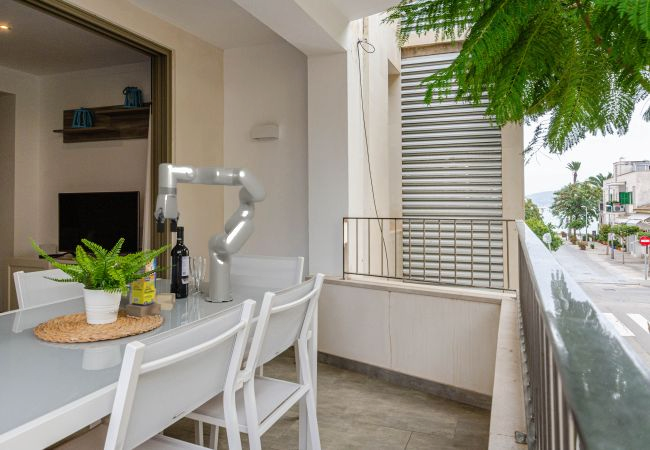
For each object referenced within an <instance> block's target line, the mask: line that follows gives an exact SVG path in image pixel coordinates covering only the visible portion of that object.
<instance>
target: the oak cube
mask: <svg viewBox="0 0 650 450" xmlns="http://www.w3.org/2000/svg"><path fill="white" fill-rule="evenodd" d="M156 303H158V304H161V311H171V310H173V309H174V308H176V293H167V292H166V293H164V292H163V293H159V294H156Z"/></svg>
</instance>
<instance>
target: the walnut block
mask: <svg viewBox="0 0 650 450" xmlns="http://www.w3.org/2000/svg"><path fill="white" fill-rule="evenodd" d="M161 313H162V310H161V304H158V303H154V304H149V305H146V306H138V305H132V304H129V303H128V304H125V316H126V315H129V316H135V317H140V318H142V317H148V316H155V315H160V316H159V317H161V315H162V314H161Z"/></svg>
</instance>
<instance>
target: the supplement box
mask: <svg viewBox="0 0 650 450" xmlns="http://www.w3.org/2000/svg"><path fill="white" fill-rule="evenodd" d="M154 293H155V276H147V277H145V278H144V277H142V279H137V280H134V281H133V282H132V305H138V306H146V305H149V304H154Z"/></svg>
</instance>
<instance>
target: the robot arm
mask: <svg viewBox="0 0 650 450" xmlns="http://www.w3.org/2000/svg"><path fill="white" fill-rule="evenodd" d="M178 184H190V185H191V184H192V185H193V184H194V185H205V186H206V185H207V186H208V185H211V186H212V185H213V186H229V187H231V186H232V187H238V186H242V187H241V188H240V189H239V191H238V198H239V199H238V200H239V206H238V208H237V209H236V210H235V212H234V213H233V214H232V215H231V216H230V218H229V219H228V220H227V221H226V223H225V224H224V227H223V231H224V233H223V232H222V233H221V232H219V233H217V232H216V233H214V234H212V235H211V236H210V237H209V239H208V242H207V247H208V249H207V250H208V256H209V276H208V277H209V284H208V285H209V286H208V289H209V290H208V291H209V292H208V294H209V295H208V296H206V297H205V301H206V300H207V301H206V302H208V301H212V302H211V303H223V302H222V301H228V302H231V301H230V300H232V299H233V300H234V296H231V294H233V290H232V289H231V257H230V255H234V254H237V253H238V252H239V251H240V250H241V249H242V248H243V246H244V245H245V244H246V242H247V241H248V240H249V239H251V238H250V237H251V236H252V235H253V233H254V227H255V226H254V222H253V221H252V220H253V218H254V217H255V213H256V211H255V210H256V207H255V203H261V202H263V201H265V200H266V198H267V195H268V192H267V189H266V187H265V185H264V184H263V183H262V182H261V181H260V180H259V178H258V177H257V176H256V175H255V174H254V173H253V172H252V171H251V170H250V169H249V168H247V167H235V168H234V167H224V166H203V167H201V166H200V167H194V166H193V165H191V164H174V163H168V162H165V163H164V162H163V163H160V164H159V165H158V195H157V198H156V205H155V211H154V213H153V214H154V220H155V223H156V233H157V234H158V233H160V234H161V233H162V234H164V233H165V220H166V219H167V220H170V222H169V232H170V233H177V232H178V224H179V220H180V215H181V214H180V212H179V209H178V207H179V206H178V205H179V204H178ZM233 300H232V301H233Z"/></svg>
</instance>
